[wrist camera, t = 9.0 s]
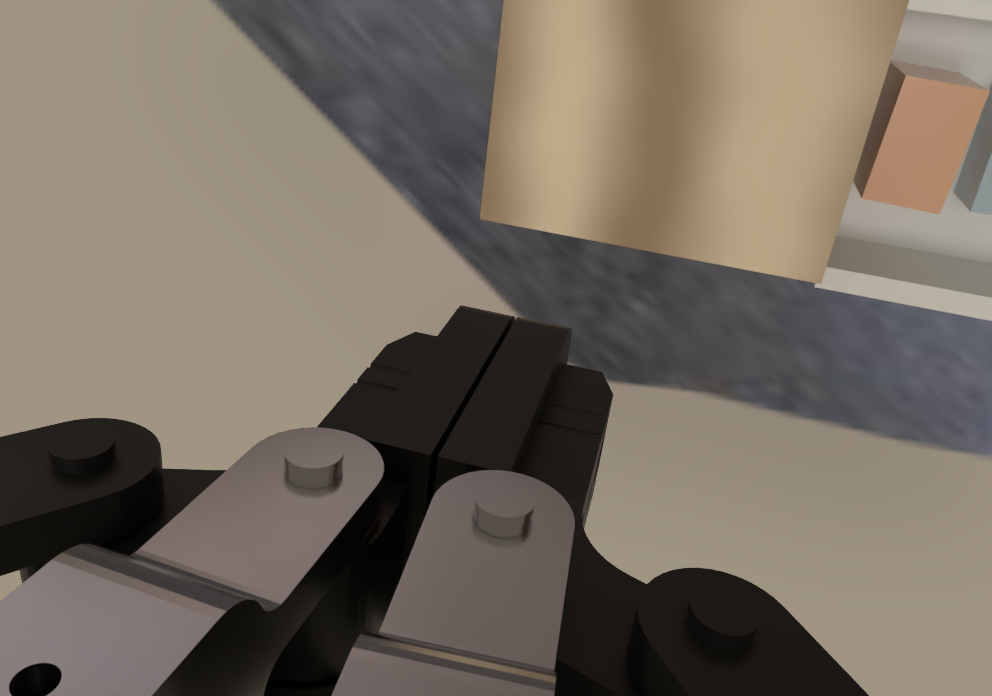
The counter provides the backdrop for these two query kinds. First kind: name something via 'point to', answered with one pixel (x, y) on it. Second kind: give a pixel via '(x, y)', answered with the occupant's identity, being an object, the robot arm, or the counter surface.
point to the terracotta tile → (918, 136)
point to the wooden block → (687, 123)
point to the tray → (913, 233)
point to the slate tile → (978, 166)
